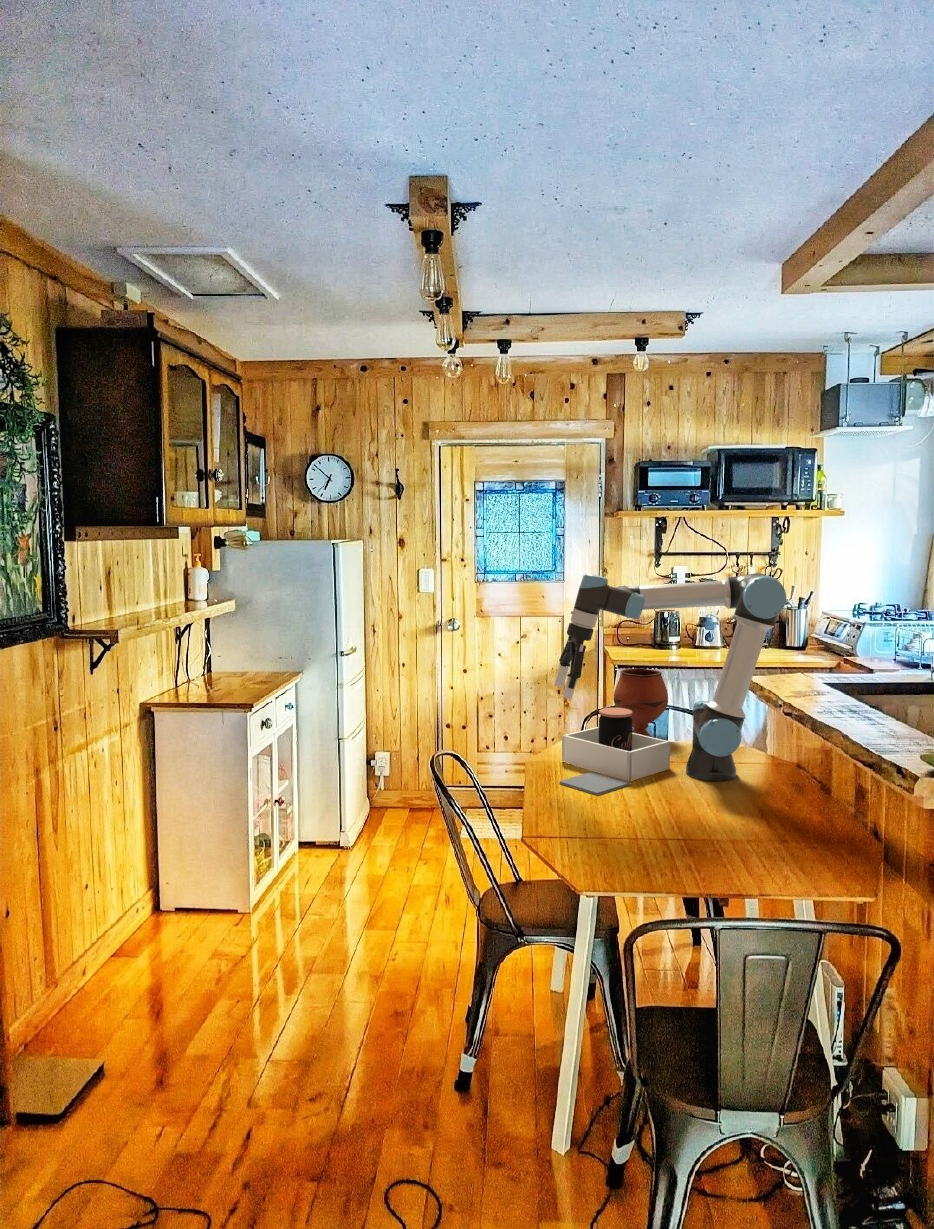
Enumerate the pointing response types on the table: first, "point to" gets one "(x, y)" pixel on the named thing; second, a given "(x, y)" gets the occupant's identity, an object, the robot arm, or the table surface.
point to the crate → (616, 755)
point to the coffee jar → (616, 728)
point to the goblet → (641, 696)
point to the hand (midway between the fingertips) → (562, 692)
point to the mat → (595, 783)
